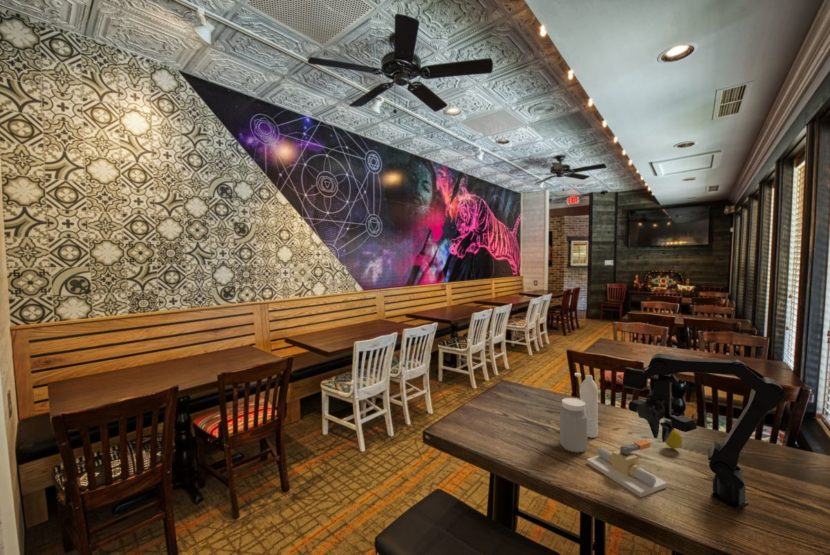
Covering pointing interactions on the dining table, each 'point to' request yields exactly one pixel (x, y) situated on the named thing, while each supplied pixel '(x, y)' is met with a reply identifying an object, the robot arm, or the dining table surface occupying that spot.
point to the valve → (626, 472)
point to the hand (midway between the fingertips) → (659, 439)
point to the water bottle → (590, 404)
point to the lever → (634, 447)
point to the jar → (573, 425)
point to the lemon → (674, 439)
